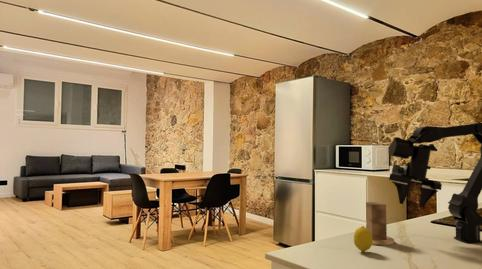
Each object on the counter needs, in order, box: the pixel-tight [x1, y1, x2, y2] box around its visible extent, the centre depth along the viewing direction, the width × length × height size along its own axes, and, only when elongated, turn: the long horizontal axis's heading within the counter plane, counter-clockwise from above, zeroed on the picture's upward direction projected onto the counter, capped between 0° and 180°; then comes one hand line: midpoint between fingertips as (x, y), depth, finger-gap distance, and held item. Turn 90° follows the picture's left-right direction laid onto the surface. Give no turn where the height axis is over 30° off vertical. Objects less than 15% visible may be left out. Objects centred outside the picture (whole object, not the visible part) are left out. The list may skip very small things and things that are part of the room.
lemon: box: [353, 225, 373, 253], centre depth 108 cm, size 6×6×8 cm
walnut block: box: [365, 201, 388, 240], centre depth 121 cm, size 5×5×12 cm
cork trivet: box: [372, 235, 395, 247], centre depth 121 cm, size 11×11×1 cm
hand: (411, 205), depth 122 cm, fingers open, 9 cm apart
